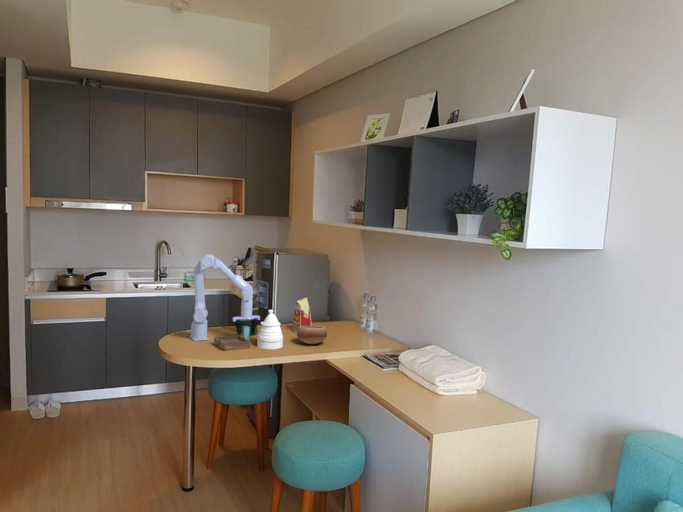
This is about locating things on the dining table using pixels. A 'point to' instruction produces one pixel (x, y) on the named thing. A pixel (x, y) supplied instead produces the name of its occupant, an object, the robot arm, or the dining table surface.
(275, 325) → the honey pot
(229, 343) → the socket box
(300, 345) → the dining table surface
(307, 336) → the bowl
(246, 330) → the peg
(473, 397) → the dining table surface
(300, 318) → the milk carton
